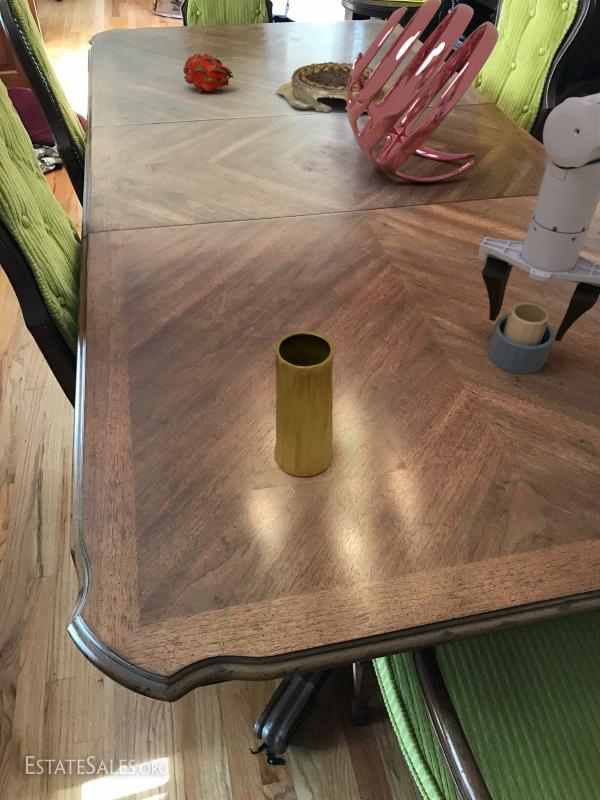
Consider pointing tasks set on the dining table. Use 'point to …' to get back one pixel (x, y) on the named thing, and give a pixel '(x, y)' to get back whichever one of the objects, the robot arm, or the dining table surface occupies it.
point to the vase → (304, 403)
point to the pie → (322, 85)
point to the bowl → (518, 351)
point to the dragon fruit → (206, 73)
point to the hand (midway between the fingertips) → (526, 326)
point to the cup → (526, 323)
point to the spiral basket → (416, 86)
